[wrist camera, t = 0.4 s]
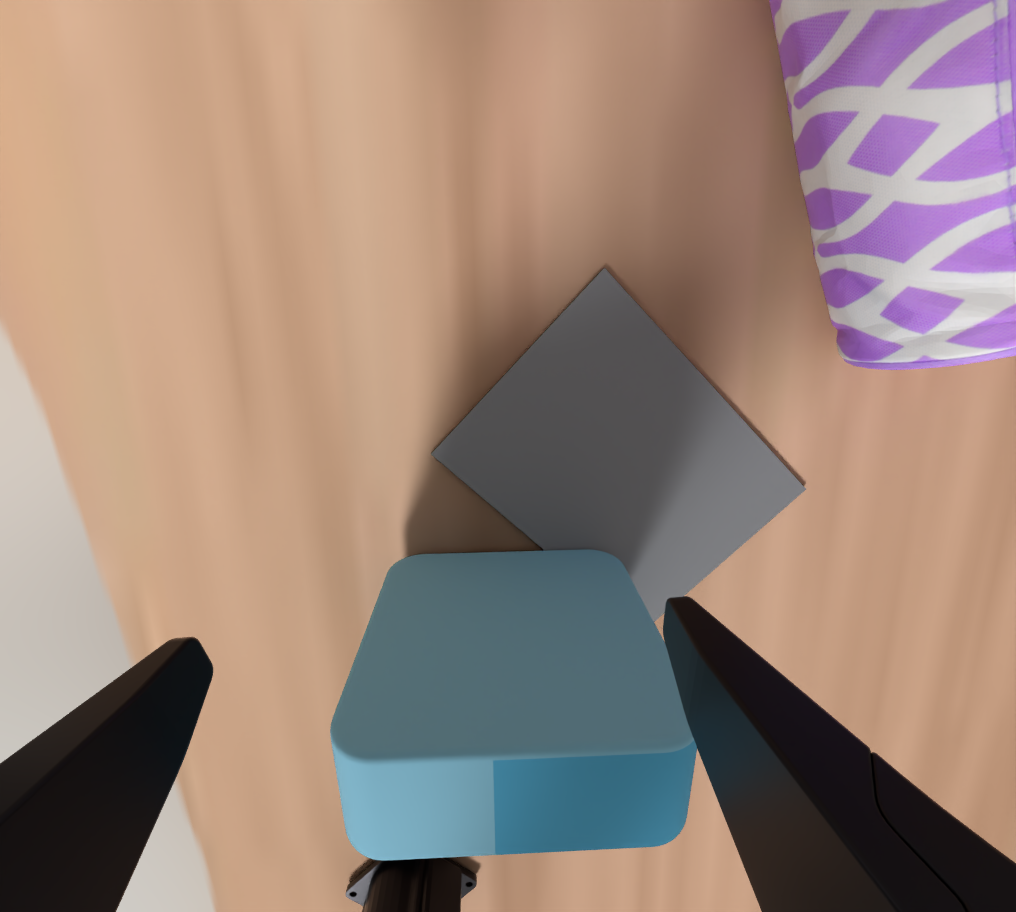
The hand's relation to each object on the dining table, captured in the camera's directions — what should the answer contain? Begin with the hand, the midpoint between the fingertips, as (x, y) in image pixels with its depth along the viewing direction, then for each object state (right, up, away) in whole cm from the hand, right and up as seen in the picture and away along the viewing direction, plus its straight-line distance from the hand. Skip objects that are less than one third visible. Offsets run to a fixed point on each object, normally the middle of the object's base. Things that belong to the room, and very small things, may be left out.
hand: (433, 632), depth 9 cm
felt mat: (+7, +3, +15) cm, 17 cm away
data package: (+1, -4, +17) cm, 18 cm away
